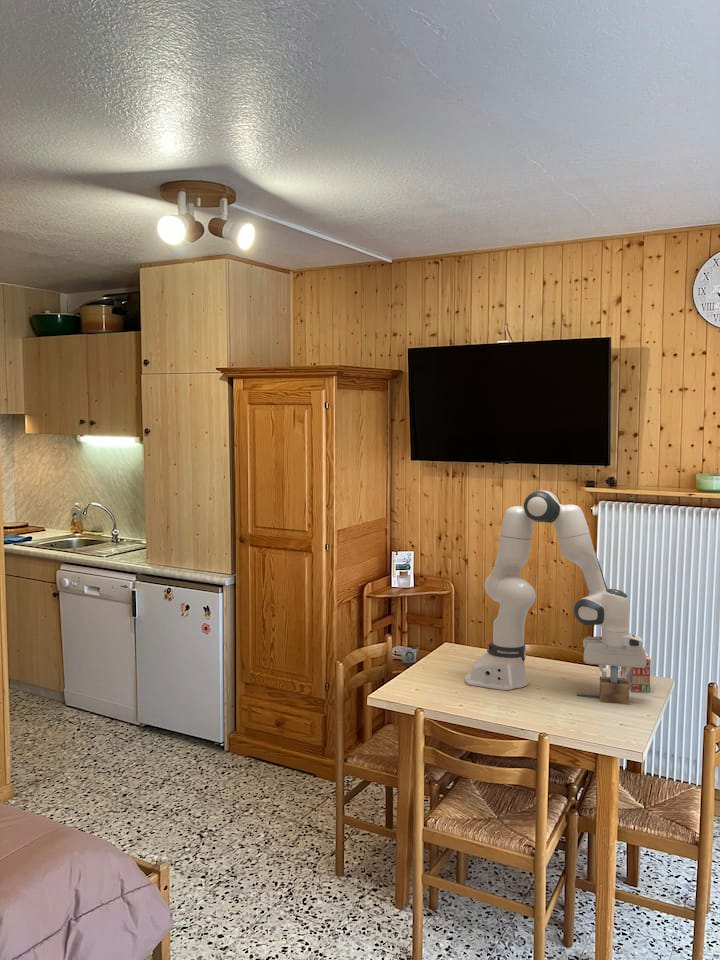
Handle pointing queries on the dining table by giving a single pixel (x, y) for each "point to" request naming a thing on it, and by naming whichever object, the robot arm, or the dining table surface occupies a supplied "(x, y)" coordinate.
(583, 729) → the dining table surface
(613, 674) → the blue-grey upright bar
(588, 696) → the lace
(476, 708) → the dining table surface
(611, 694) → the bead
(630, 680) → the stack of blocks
